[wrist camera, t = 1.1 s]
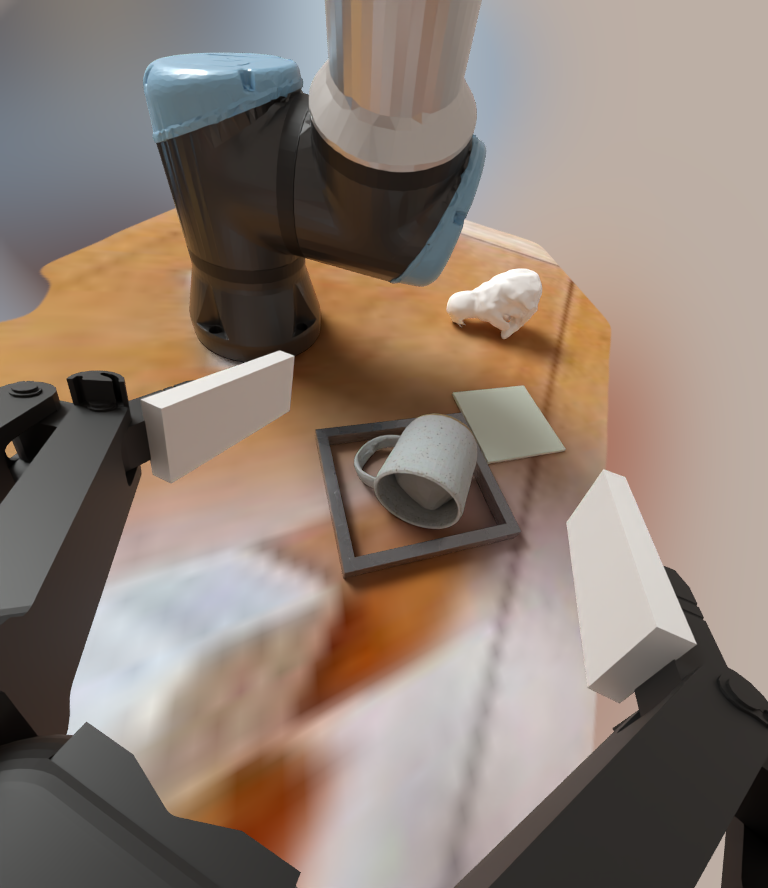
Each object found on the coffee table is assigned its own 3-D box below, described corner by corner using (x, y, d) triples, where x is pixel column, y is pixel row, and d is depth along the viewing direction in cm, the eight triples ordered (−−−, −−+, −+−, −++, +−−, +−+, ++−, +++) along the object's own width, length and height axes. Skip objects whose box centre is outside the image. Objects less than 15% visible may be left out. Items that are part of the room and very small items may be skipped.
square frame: (315, 438, 35) (315, 429, 34) (457, 421, 40) (461, 412, 39) (343, 578, 28) (344, 573, 27) (513, 537, 32) (521, 531, 31)
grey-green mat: (452, 394, 42) (453, 392, 42) (522, 387, 45) (523, 385, 45) (486, 464, 37) (488, 461, 37) (563, 451, 40) (565, 449, 39)
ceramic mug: (466, 470, 36) (495, 423, 30) (445, 540, 31) (474, 501, 25) (372, 432, 37) (382, 379, 31) (338, 493, 32) (341, 445, 26)
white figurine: (553, 286, 44) (459, 281, 43) (527, 342, 51) (445, 338, 50) (540, 260, 47) (452, 256, 47) (516, 316, 54) (440, 312, 54)
